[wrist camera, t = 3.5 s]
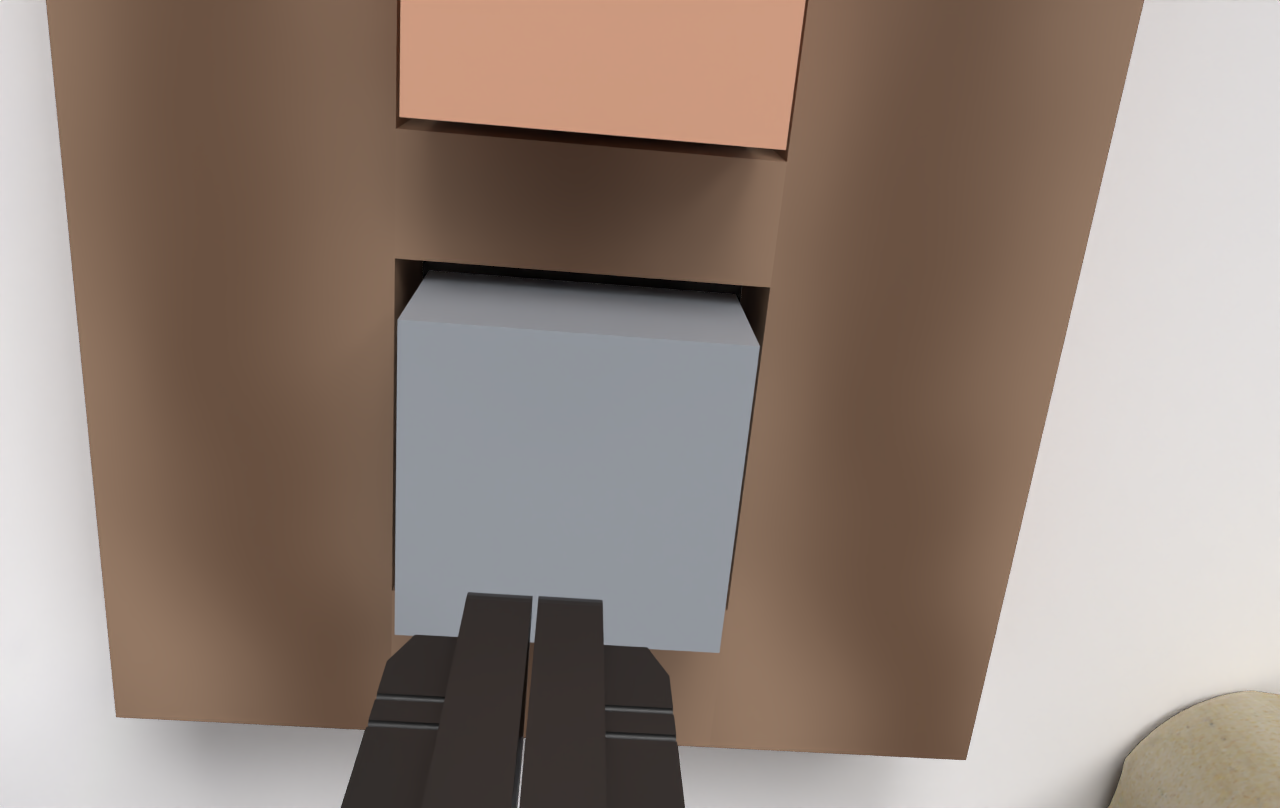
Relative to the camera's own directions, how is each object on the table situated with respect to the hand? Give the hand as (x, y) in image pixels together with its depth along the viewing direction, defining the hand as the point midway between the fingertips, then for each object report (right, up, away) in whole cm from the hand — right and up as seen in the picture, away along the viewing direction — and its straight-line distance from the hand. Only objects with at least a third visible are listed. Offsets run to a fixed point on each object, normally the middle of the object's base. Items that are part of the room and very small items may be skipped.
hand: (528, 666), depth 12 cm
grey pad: (0, +3, +7) cm, 8 cm away
